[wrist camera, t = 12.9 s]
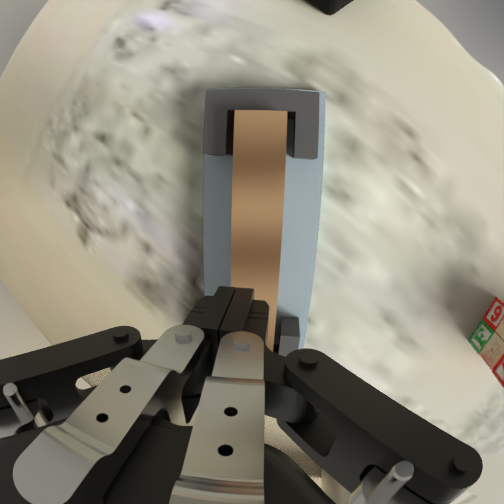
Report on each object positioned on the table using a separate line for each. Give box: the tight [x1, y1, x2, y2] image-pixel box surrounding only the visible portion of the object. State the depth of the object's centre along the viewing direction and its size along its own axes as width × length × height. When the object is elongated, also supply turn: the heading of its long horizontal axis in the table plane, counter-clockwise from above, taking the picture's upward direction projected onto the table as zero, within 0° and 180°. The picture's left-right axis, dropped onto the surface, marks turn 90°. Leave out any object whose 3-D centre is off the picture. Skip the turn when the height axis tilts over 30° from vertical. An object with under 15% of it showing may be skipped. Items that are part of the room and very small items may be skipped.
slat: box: [231, 110, 287, 351], centre depth 19 cm, size 18×3×5 cm, turn 178°
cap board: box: [203, 88, 325, 357], centre depth 21 cm, size 24×9×4 cm, turn 178°
